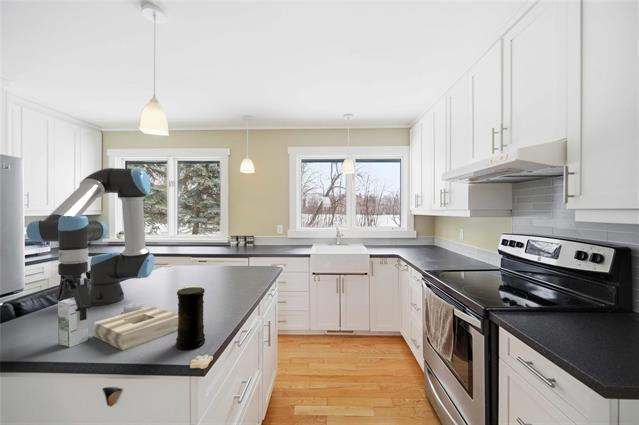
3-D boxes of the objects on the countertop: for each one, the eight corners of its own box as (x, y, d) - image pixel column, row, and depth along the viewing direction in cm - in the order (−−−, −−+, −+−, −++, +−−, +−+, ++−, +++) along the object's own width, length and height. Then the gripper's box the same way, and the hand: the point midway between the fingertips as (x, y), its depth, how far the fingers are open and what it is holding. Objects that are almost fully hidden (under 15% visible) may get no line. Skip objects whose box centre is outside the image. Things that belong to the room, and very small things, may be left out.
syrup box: (88, 340, 98) (88, 297, 98) (68, 348, 93) (68, 303, 93) (77, 338, 100) (77, 296, 100) (57, 345, 95) (57, 301, 95)
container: (181, 338, 100) (182, 286, 100) (208, 337, 101) (208, 286, 101) (170, 351, 91) (170, 294, 91) (200, 350, 92) (200, 293, 92)
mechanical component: (113, 318, 119) (134, 320, 117) (114, 308, 119) (134, 309, 117) (134, 310, 129) (153, 312, 127) (134, 300, 129) (153, 302, 127)
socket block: (94, 336, 102) (94, 322, 102) (152, 318, 119) (152, 306, 119) (122, 350, 91) (123, 334, 91) (181, 328, 108) (181, 315, 108)
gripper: (44, 260, 100) (44, 321, 100) (74, 267, 87) (74, 338, 87) (72, 257, 106) (71, 315, 106) (103, 263, 93) (103, 329, 93)
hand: (73, 325), depth 96 cm, fingers open, 13 cm apart
